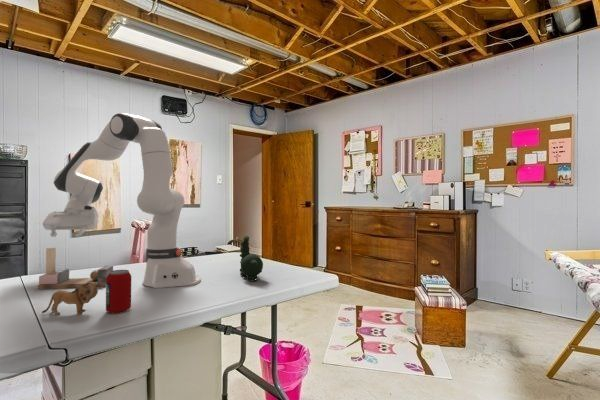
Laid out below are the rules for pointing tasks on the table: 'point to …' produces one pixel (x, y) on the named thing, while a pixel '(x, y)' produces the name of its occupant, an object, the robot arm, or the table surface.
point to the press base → (82, 280)
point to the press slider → (52, 270)
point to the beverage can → (118, 291)
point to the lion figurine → (74, 297)
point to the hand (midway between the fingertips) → (65, 235)
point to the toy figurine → (249, 262)
